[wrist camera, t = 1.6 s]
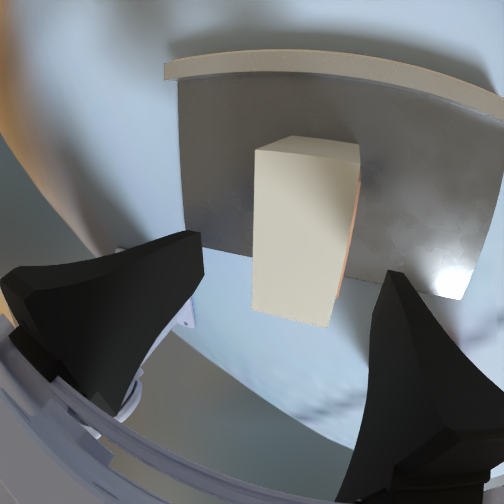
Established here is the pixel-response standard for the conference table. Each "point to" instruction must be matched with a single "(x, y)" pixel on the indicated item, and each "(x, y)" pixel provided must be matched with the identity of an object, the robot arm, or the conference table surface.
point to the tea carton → (303, 225)
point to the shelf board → (351, 131)
